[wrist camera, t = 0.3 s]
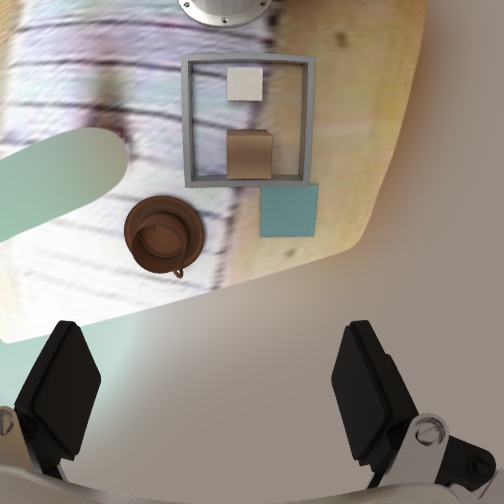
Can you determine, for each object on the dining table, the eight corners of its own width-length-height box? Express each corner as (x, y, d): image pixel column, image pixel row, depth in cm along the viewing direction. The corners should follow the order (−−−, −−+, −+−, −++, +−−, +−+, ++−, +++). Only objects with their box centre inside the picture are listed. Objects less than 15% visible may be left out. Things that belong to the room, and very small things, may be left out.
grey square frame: (185, 58, 33) (181, 55, 30) (309, 59, 34) (314, 57, 31) (188, 181, 41) (185, 187, 39) (303, 180, 42) (308, 186, 40)
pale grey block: (227, 71, 34) (227, 67, 30) (259, 71, 35) (262, 67, 30) (227, 100, 36) (226, 100, 32) (258, 100, 37) (262, 100, 32)
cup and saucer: (222, 229, 45) (220, 249, 40) (171, 278, 49) (164, 301, 43) (160, 175, 41) (149, 187, 35) (113, 231, 44) (99, 250, 39)
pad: (261, 183, 42) (261, 184, 42) (317, 183, 42) (318, 185, 42) (259, 235, 46) (260, 237, 45) (312, 234, 46) (313, 236, 46)
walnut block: (227, 129, 38) (226, 135, 32) (265, 129, 39) (272, 135, 32) (228, 165, 41) (227, 178, 35) (265, 165, 41) (271, 178, 35)
